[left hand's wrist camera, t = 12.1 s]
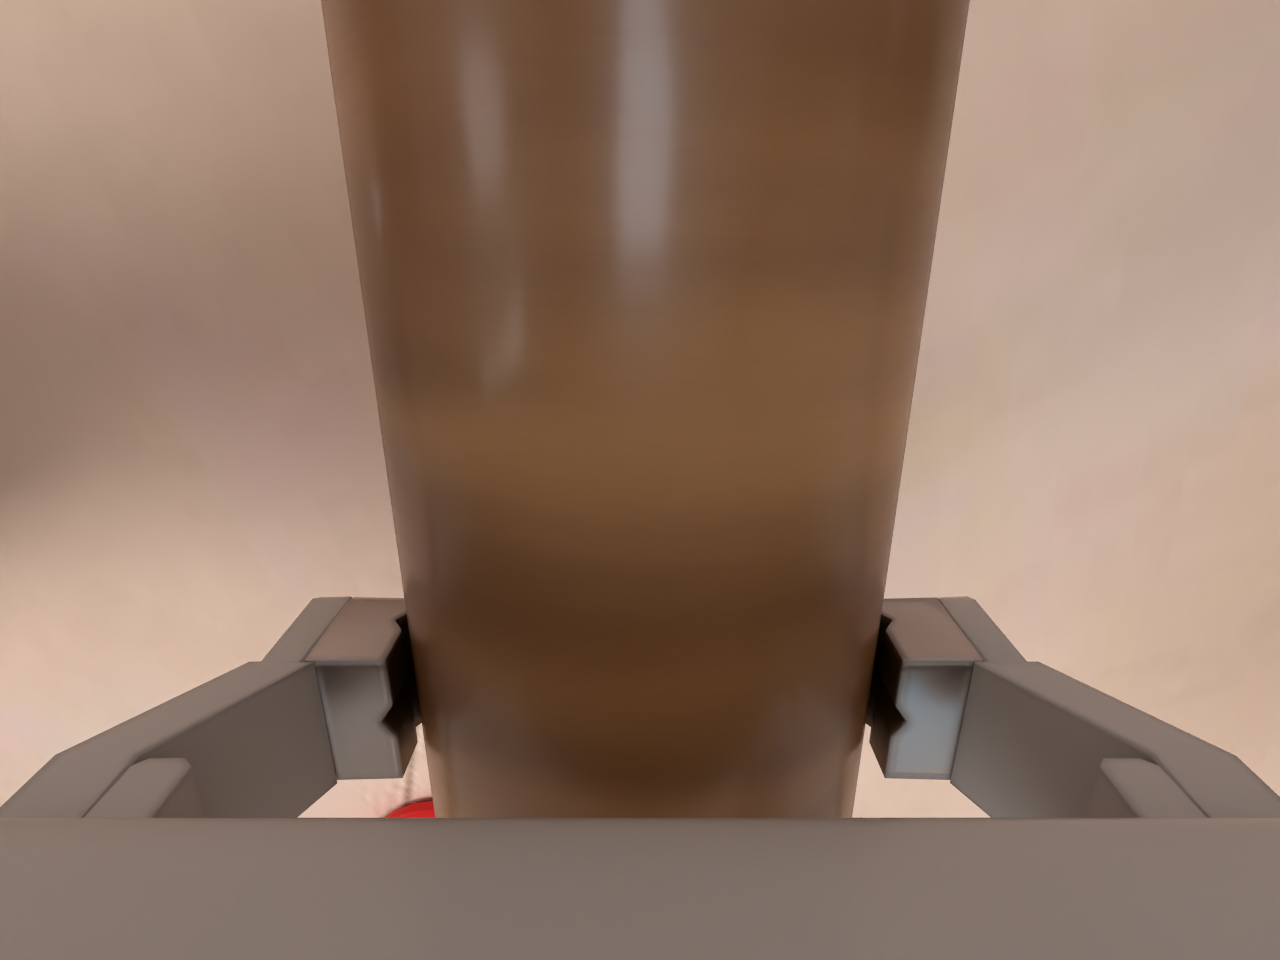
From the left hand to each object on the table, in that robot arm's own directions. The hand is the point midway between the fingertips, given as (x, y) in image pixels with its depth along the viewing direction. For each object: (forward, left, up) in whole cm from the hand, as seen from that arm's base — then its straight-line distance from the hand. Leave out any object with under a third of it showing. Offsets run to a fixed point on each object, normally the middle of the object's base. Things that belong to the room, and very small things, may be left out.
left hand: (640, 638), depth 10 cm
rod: (+5, +7, -3) cm, 9 cm away
